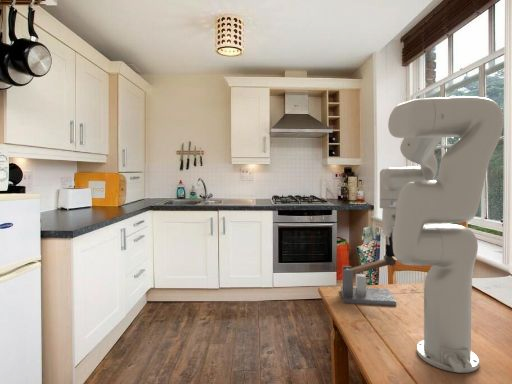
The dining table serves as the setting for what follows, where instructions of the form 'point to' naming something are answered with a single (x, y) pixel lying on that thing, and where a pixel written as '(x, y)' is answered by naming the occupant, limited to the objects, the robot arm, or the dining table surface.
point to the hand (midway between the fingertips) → (390, 255)
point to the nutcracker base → (370, 292)
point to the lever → (374, 265)
